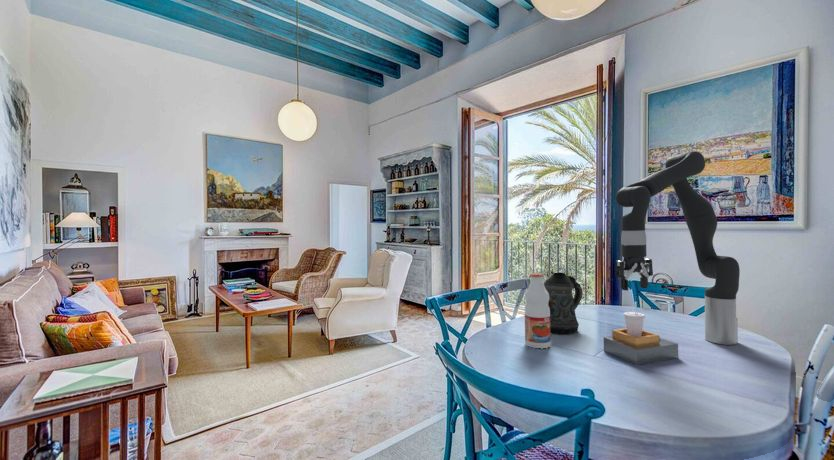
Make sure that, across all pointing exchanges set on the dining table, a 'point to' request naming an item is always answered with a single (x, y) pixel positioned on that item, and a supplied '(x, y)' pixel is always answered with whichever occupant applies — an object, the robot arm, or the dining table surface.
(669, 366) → the dining table surface
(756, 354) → the dining table surface
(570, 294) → the beer stein
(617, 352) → the grey flat boxy piece
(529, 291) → the fruit juice
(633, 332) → the smoothie
